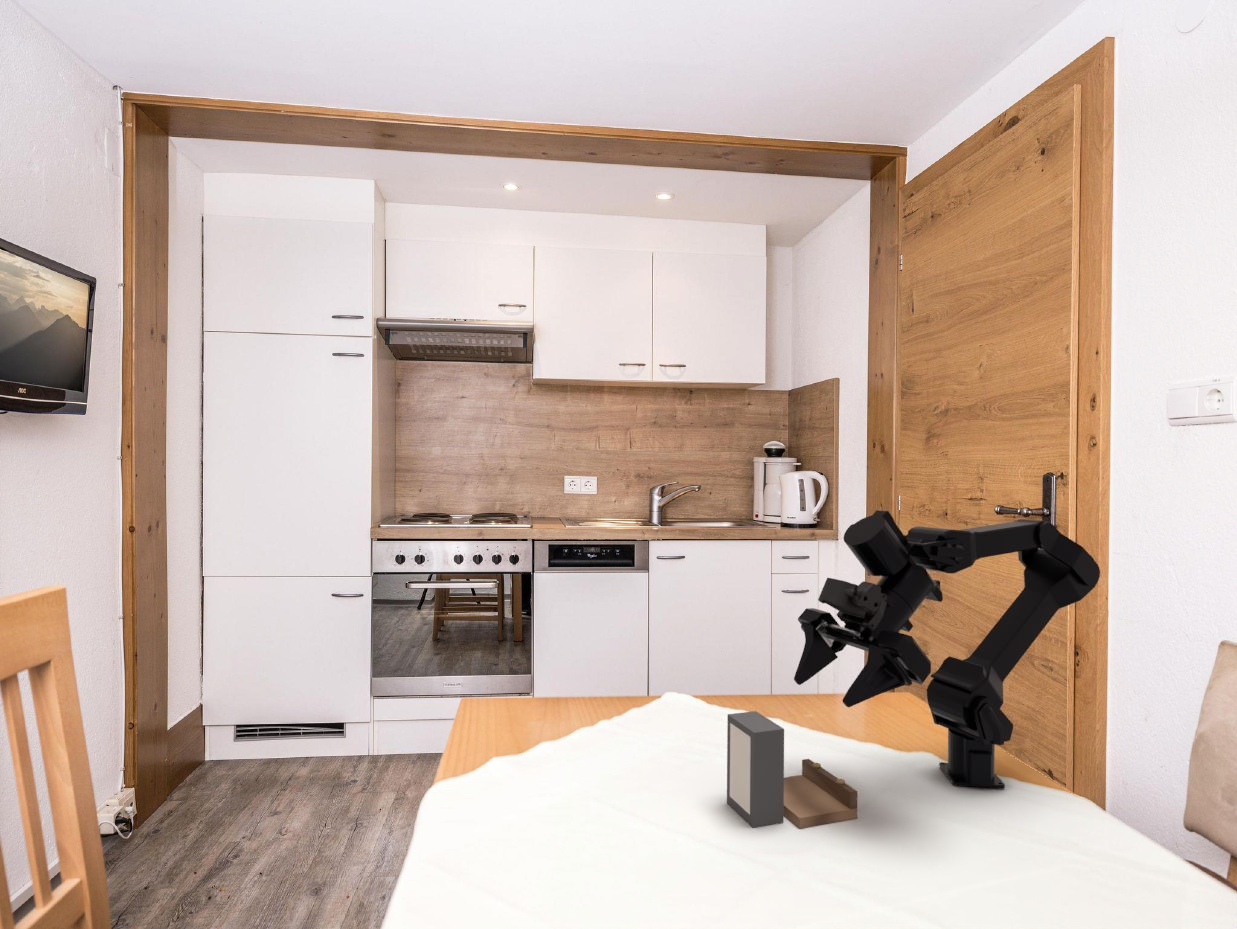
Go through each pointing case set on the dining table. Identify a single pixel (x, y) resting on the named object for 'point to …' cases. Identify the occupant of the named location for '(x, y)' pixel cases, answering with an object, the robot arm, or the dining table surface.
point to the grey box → (755, 768)
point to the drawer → (818, 797)
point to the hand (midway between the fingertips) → (819, 692)
